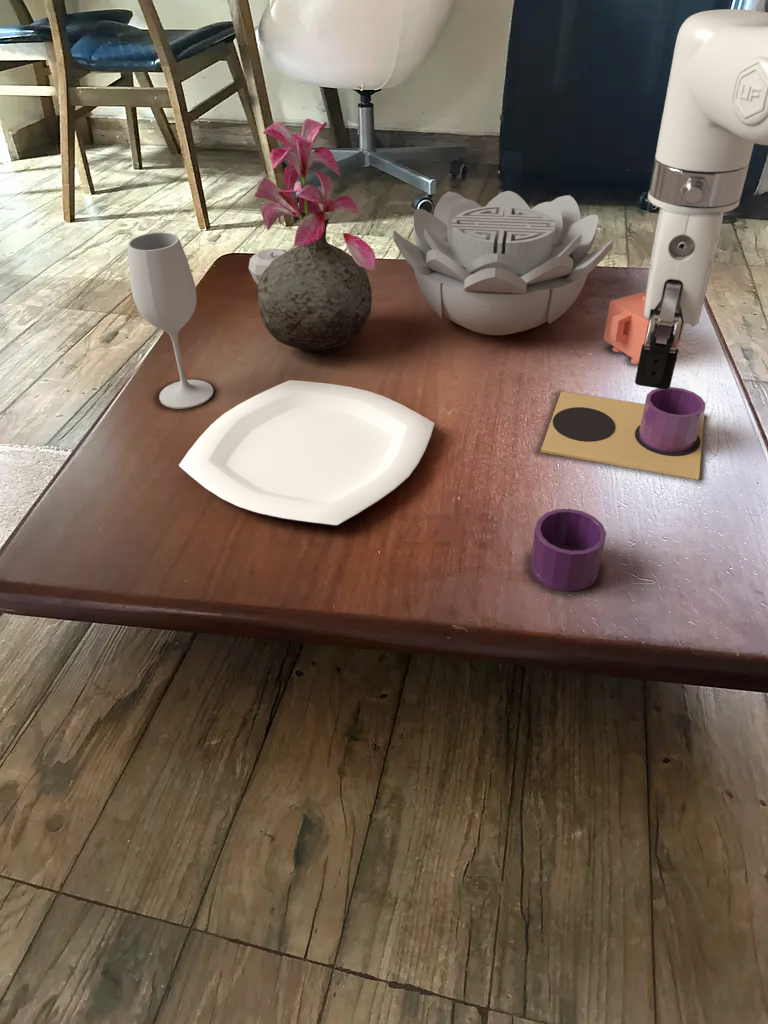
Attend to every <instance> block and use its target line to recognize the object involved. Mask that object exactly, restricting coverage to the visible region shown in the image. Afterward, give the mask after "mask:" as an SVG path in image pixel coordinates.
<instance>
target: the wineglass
mask: <svg viewBox="0 0 768 1024" xmlns="http://www.w3.org/2000/svg"><path fill="white" fill-rule="evenodd" d="M127 255H128V256H127V261H128V273H129V280H130V289H131V294H132V298H133V301H134V303H135V307H136V310H137V311H138V313H139V315H140V316H141V318H142V319H144V320H145V321H146V322H148V323H149V324H150V325H151V326H153V327H155V328H157V329H159V330H161V331H163V332H165V333H167V334H168V336H169V337H170V340H171V342H172V347H173V352H174V355H175V361H176V364H177V365H176V366H177V369H178V370H177V371H178V374H179V381H176V382H172V383H171V384H168V385H167V386H165V387H164V388H163V389H162V390H161V391H160V393H159V401H160V403H161V404H162V405H163V406H165V407H167V408H170V409H176V410H184V409H192V408H196V407H199V406H202V405H203V404H206V403H207V402H208V401H210V399H212V397H213V396H214V387H213V386H212V385H211V384H210V383H209V382H207V381H205V380H201V379H188V378H187V377H186V372H185V368H184V362H183V359H182V353H181V349H180V344H179V338H178V337H179V336H178V335H179V332H180V330H181V329H182V328H184V327H185V325H187V324H188V322H189V321H190V319H191V318H192V317H193V314H194V313H195V311H196V306H197V300H198V299H197V298H198V297H197V289H196V284H195V280H194V276H193V273H192V270H191V267H190V264H189V261H188V258H187V255H186V252H185V250H184V247H183V245H182V243H181V240H180V238H179V236H178V235H177V234H175V233H171V232H165V231H163V232H159V231H158V232H150V233H144V234H140V235H137V236H135V237H133V238H131V239H130V240H129V241H128V244H127Z"/></svg>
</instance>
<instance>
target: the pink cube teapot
mask: <svg viewBox="0 0 768 1024" xmlns="http://www.w3.org/2000/svg"><path fill="white" fill-rule="evenodd" d="M646 291H647V290H644V291H641V292H637V293H633V294H629V295H626V296H622V297H619V298H615V299H611V300H610V301H609V305H608V311H607V316H606V323H605V329H604V336H603V341H604V342H606V343H608V344H609V345H611V346H613V347H612V348H611V350H612V351H613V352H615V353H624V354H625V355H626V356H628V357H630V358H631V359H630V362H631V364H633V365H638V363H639V358H640V353H641V348H642V344H645V342H646V337H647V333H648V328H649V323H650V320H649V321H648V320H647V319H646V318H645V316H644V310H645V300H646ZM684 326H685V324H684V322H683V326H682V330H681V335H680V339H679V341H678V342H677V347H676V349H679V346H680V341H681V338H682V332H683V331H684V330H683V329H684ZM670 345H671V344H670Z"/></svg>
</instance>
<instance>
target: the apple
mask: <svg viewBox="0 0 768 1024" xmlns="http://www.w3.org/2000/svg"><path fill="white" fill-rule="evenodd" d="M287 251H288V250H286V249H282V248H281V249H280V248H267V249H263V250H262V249H261V250H258V251H256V252H255V253H254V254H253V255H252V256H251V257H250V258H249V263H248V270H249V273H250V275H251V277H252V279H253V281H254V282H255V284H256V285H257V286H258V281H259V279H260V277H261V274H262V273H263V272H264V271H265V270H266V268H267V267H268V266H269V265H270V264H271V263H272V261H273V260H274V259H276V258H277V257H279V256H280V255H282V254H284V253H286V252H287Z"/></svg>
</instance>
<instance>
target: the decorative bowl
mask: <svg viewBox="0 0 768 1024" xmlns="http://www.w3.org/2000/svg"><path fill="white" fill-rule="evenodd" d="M413 213H414V214H413V235H414V240H415V243H416V244H414V243H412V241H409V240H408V239H406V238H405V237H404V236H402V235H401V234H400V233H398V232H397V231H396V230H393V233H392V234H393V235H392V236H393V237H392V239H393V242H394V244H395V245H396V247H397V249H398V251H399V252H400V254H401V255H402V257H403V258H404V260H405V261H406V262H407V263H408V264H409V265H410V267H411V268H412V269H414V275H415V279H416V282H417V286H418V288H419V290H420V292H421V295H422V296H423V298H424V300H425V302H426V303H427V304H428V306H429V307H430V308H431V309H432V310H433V311H434V313H435V314H436V315H437V316H439V317H440V318H443V317H446V319H448V320H450V321H451V322H453V323H454V324H456V325H458V326H460V327H463V328H465V329H467V330H470V331H472V332H474V333H478V334H482V335H487V336H506V335H512V334H516V333H520V332H524V331H528V330H531V329H534V328H537V327H539V326H541V325H543V324H545V323H548V324H549V325H550V324H552V323H553V322H555V321H557V320H558V319H559V318H560V317H561V316H563V315H564V314H565V313H566V311H568V310H569V309H570V308H571V306H572V305H573V304H574V303H575V301H576V300H577V298H578V297H579V295H580V293H581V292H582V290H583V288H584V286H585V283H586V281H587V278H588V276H589V273H590V272H592V271H593V270H594V269H595V268H596V267H597V266H598V265H599V264H601V263H602V261H603V260H604V259H605V258H606V257H607V255H609V254H610V252H611V251H612V250H613V245H614V239H613V238H612V239H611V240H610V241H608V242H607V243H606V244H604V245H602V246H601V247H599V248H596V249H594V250H592V251H591V249H592V247H593V246H594V244H595V243H594V242H595V239H596V235H597V229H598V222H599V215H597V214H590V215H587V216H585V217H583V218H581V211H580V207H579V205H578V203H577V201H576V200H575V198H574V197H573V196H571V195H570V194H569V195H562V196H558V197H556V198H554V199H553V200H551V201H544V202H541V203H538V204H536V205H535V206H533V207H532V208H530V207H529V205H528V204H527V202H526V201H525V200H524V199H523V198H522V197H521V196H520V195H519V194H518V193H516V192H515V191H514V192H513V191H511V190H506V191H503V192H500V193H499V194H497V195H496V196H495V197H493V198H492V199H491V200H490V201H489V202H488V203H487V204H486V205H485V206H482V205H480V204H479V203H478V202H476V201H475V200H472V199H469V198H466V197H464V196H463V195H462V194H461V193H457V192H453V191H447V192H445V193H444V194H443V195H442V196H441V197H440V198H439V200H437V203H436V205H435V208H434V211H433V214H432V213H431V212H429V211H427V210H425V209H423V208H416V209H415V210H414V212H413Z"/></svg>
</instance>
